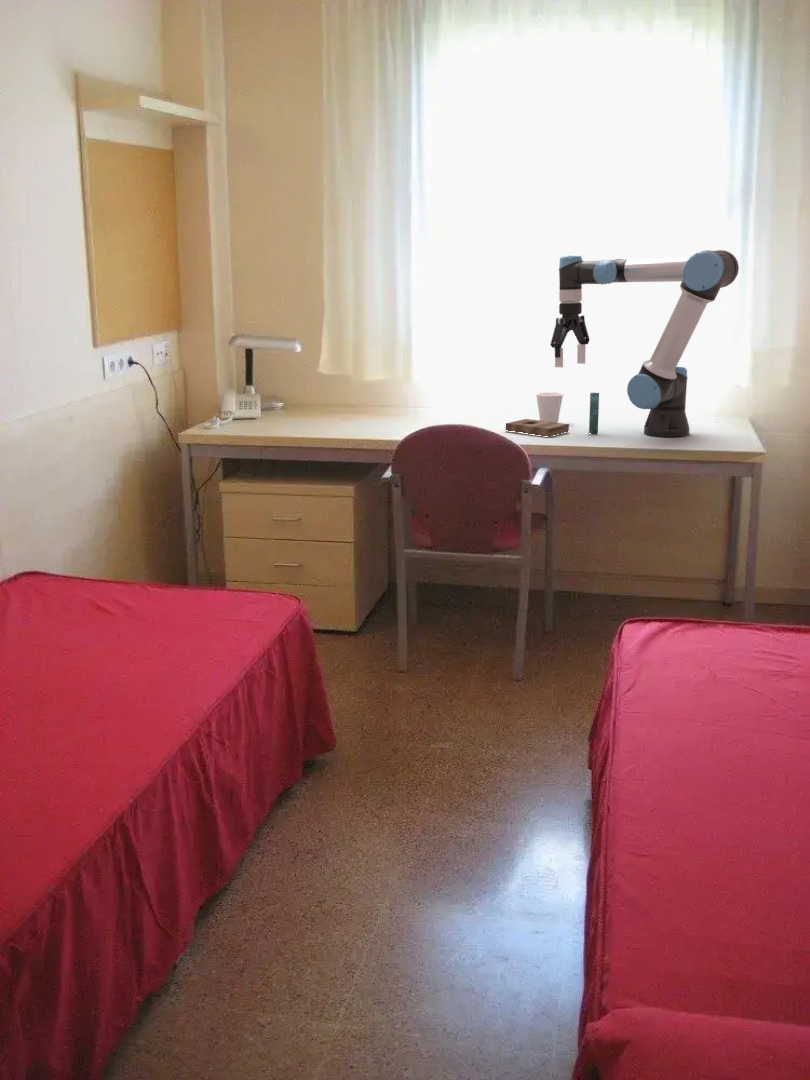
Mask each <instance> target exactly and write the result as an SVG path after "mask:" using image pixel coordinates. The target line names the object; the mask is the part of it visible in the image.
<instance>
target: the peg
mask: <svg viewBox="0 0 810 1080" xmlns="http://www.w3.org/2000/svg"><path fill="white" fill-rule="evenodd" d="M589 393H590V395H589V417H588V418H589V419H588V421H589V425H588V426H589V427H588V434H589V433H591V434H597V433H598V434H599V415H600V413H599V412H600V410H599V409H600V392H589ZM598 434H597V435H598Z"/></svg>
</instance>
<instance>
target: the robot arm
mask: <svg viewBox="0 0 810 1080" xmlns="http://www.w3.org/2000/svg"><path fill="white" fill-rule="evenodd" d="M739 267H740V265H739V262H738V260H737V258H736V256H735V255H734V254H733V253H731V252H729V251H727V250H723V249H720V250H709V249H708V250H701V251H698V252H696V253H693V254H692V255H691V256H689V257H666V258H665V257H664V258H663V257H662V258H633V259H631V258H630V259H621V258H619V259H618V258H616V259H606V260H605V259H604V260H587V261H586V260H583V257H582V256H581V255H580V254H575V255H562V256H560V258H559V267H558V273H559V277H558V278H559V280H558V281H559V288H558V289H559V294H558V295H559V296H558V297H559V301H560V303H559V305H558V312H559V314H560V315H561V317H556V319H555V326H554V330H553V333H552V337H551V341H550V347H551V348H552V349H553V348H554V367H555V368H564V348H563V344H564V342H565V339H566V337H567V335H568V333H569V332H570V331H572V332H573V334H574V336H575V338H576V340H577V341H578V344H577V346H576V347H577V352H576V353H577V361H576V362H577V364H586V345H589V342H590V335H589V333H588V328H587V324H586V320H585V315H580V314H582V308H583V307H582V306H583V304H582V301H583V294H582V293H583V291H582V289H583V288H582V287H583V286H582V285H602V286H603V285H610V284H612V283H613V284H614V283H647V282H648V283H656V282H659V283H660V282H661V283H662V282H665V283H666V282H680V285H679V287H680V290H681V294H680V296H679V298H678V300H677V303H676V305H675V306H674V309H673V311H672V313H671V315H670V318H669V319H668V322H667V324H666V326H665V327H664V330H663V332H662V335H661V336H660V339H659V340H658V343H657V344H656V347H655V349H654V351H653V353H652V355H651V357H650V359H648V360H645V361H643V363H642V365H641V367H640V369H639V371H638V373H637V374H635V375H634V376H633V377H631V379H630V380H629V381H628V384H627V387H626V392H627V395H628V399H629V401H630V402H631V404H632V405H633V406H634V407H636V408H638V409H642V410H649V413H648V415H647V418H646V421H645V423H644V427H643V433H644V434H645V435H647V436H652V437H658V438H659V437H660V438H679V437H686V436H688V435H690V425H689V420H688V417H687V413H686V402H687V387H688V386H687V385H688V370H687V368H686V367H684V366H678V365H679V362H680V360H681V358H682V356H683V354H684V351H685V350H686V348H687V345H688V344H689V342H690V340H691V338H692V335H693V334H694V331H695V329H696V327H697V325H698V324H699V321H700V319H701V317H702V315H703V314H704V312H705V309H706V307H707V305H708V304H709V303H713V302H714V301H715V300H716V298H717V296H718V295H719V292H720V291H721V289H722V288H725V287H727V286H729V285H731V284H733V282H734V281H735V280H736V279H737V277H738V274H739V272H740V271H739Z"/></svg>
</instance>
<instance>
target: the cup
mask: <svg viewBox="0 0 810 1080" xmlns="http://www.w3.org/2000/svg"><path fill="white" fill-rule="evenodd" d="M535 395H536V402H537V408H538V409H537V410H538V415H539V421H547V422H556V423H559V418H560V412H561V407H562V402H563V396H564V393H562V392H556V391H543V392H536V393H535Z"/></svg>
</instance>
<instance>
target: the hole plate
mask: <svg viewBox="0 0 810 1080" xmlns="http://www.w3.org/2000/svg"><path fill="white" fill-rule="evenodd" d="M506 430H508V431H515V432H523V433H528V434H535V435H541V436H548V437H550V436H553V435H557V434H561V433H564V432H568V431H569V432H570V424H569V423H563V422H558V423H556V422H547V421H540V419H538V420H537V419H530V418H524V419H520V420H515V421H510V422H506V423H505V431H506ZM548 437H547V438H548ZM550 438H551V437H550Z"/></svg>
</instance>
